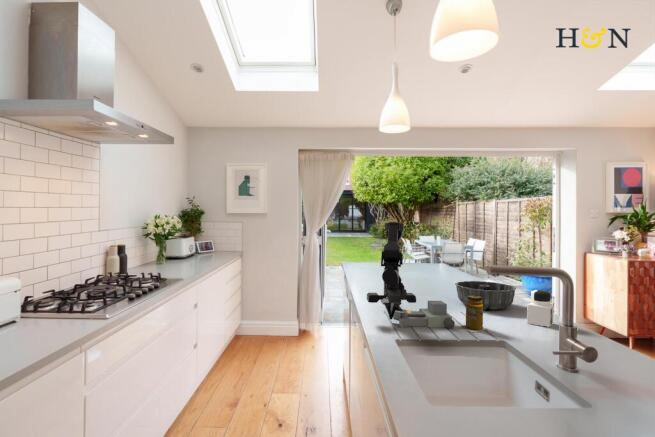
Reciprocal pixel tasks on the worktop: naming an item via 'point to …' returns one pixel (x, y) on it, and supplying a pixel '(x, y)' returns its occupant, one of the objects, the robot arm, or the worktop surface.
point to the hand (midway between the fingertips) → (390, 319)
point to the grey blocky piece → (428, 316)
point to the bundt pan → (487, 293)
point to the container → (540, 309)
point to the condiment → (474, 314)
